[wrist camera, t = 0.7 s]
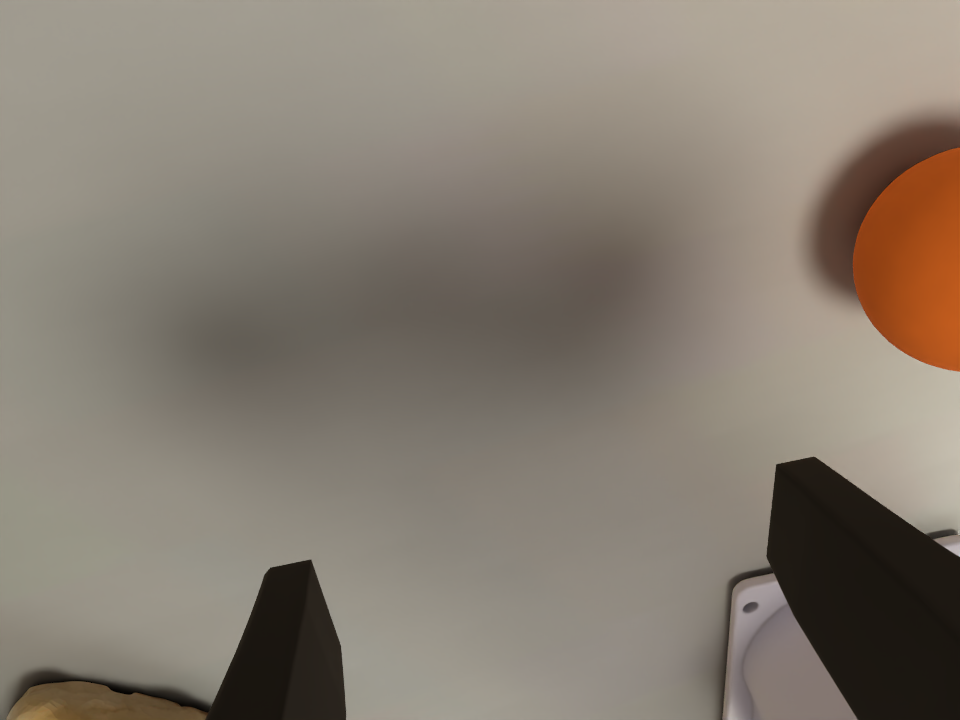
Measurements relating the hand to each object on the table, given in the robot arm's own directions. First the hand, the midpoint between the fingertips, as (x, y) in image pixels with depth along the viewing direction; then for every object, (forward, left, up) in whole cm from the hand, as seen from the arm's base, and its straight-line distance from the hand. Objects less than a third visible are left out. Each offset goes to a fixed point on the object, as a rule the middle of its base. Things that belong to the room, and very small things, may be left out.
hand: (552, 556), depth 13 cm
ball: (0, -11, -6) cm, 12 cm away
